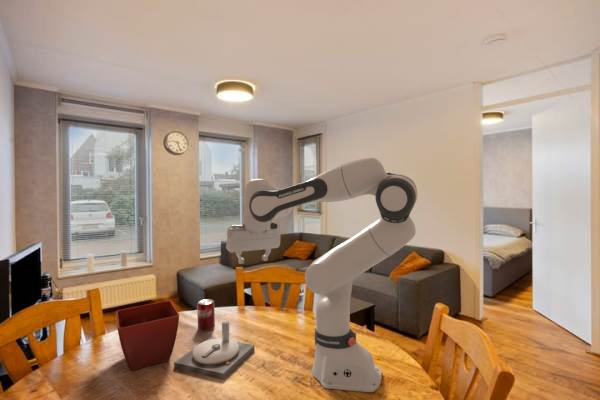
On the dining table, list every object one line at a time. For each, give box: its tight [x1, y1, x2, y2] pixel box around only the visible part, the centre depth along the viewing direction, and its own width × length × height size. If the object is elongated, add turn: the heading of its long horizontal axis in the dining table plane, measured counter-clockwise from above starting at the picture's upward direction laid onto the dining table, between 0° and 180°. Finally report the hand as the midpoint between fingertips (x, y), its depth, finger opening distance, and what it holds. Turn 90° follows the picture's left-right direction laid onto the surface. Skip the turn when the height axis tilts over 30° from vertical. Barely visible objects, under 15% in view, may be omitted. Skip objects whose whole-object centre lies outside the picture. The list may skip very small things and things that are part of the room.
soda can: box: [196, 298, 216, 332], centre depth 138 cm, size 7×7×12 cm
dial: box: [192, 320, 239, 364], centre depth 112 cm, size 16×16×8 cm
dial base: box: [173, 336, 255, 381], centre depth 112 cm, size 20×20×2 cm
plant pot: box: [115, 300, 180, 371], centre depth 113 cm, size 19×19×17 cm
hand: (253, 261), depth 112 cm, fingers open, 8 cm apart
